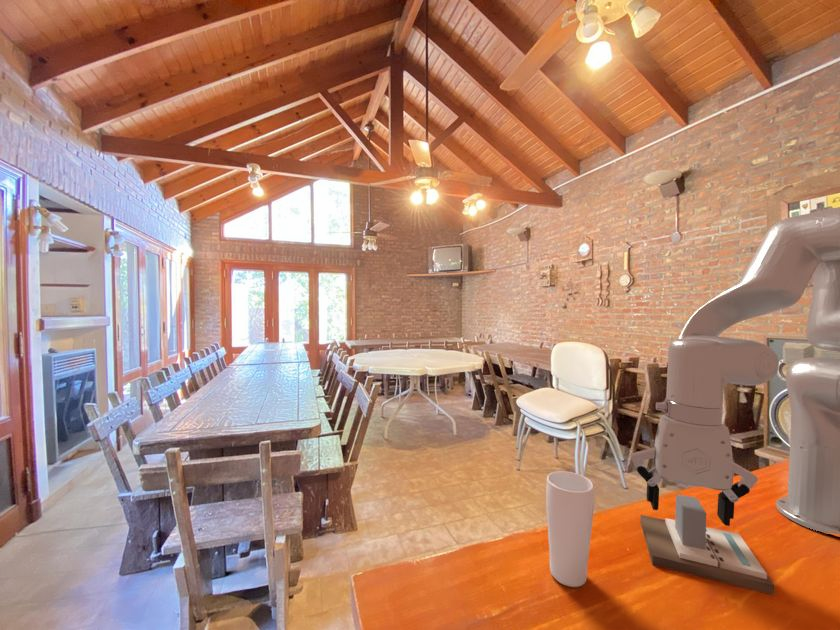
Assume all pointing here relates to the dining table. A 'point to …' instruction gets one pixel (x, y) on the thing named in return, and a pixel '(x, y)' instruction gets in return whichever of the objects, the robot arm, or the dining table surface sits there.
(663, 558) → the board
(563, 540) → the drinking glass
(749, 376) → the robot arm
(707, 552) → the stub
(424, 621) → the dining table surface
